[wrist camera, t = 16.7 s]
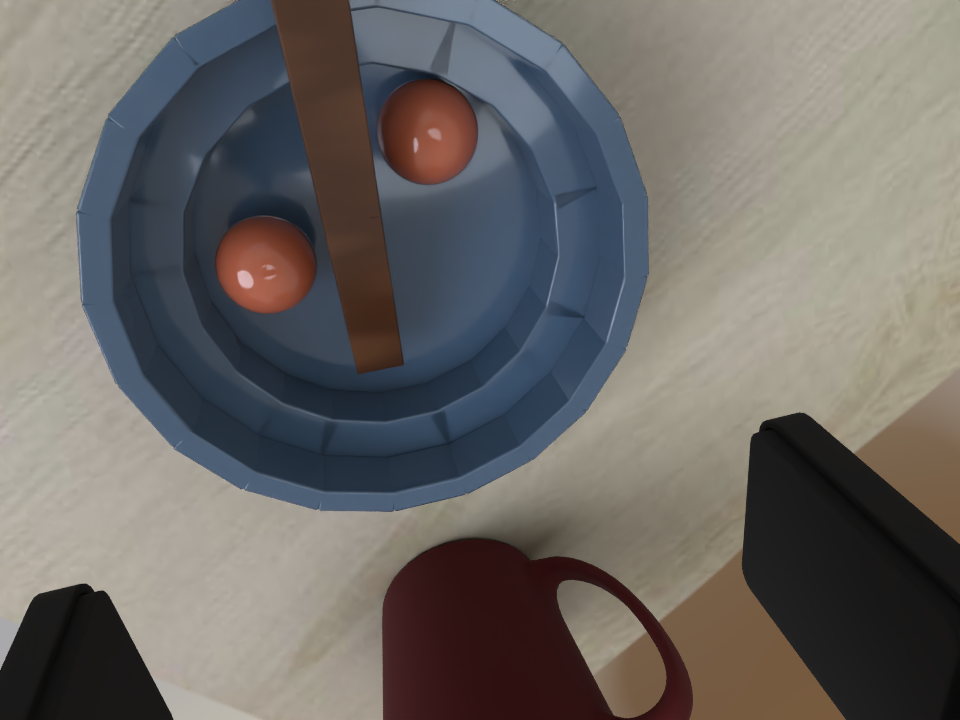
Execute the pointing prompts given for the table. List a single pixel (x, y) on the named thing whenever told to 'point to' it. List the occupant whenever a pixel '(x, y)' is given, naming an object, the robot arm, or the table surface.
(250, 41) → the bowl
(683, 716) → the mug
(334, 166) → the stick
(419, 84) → the bead
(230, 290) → the bead
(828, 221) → the table surface
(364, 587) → the table surface
